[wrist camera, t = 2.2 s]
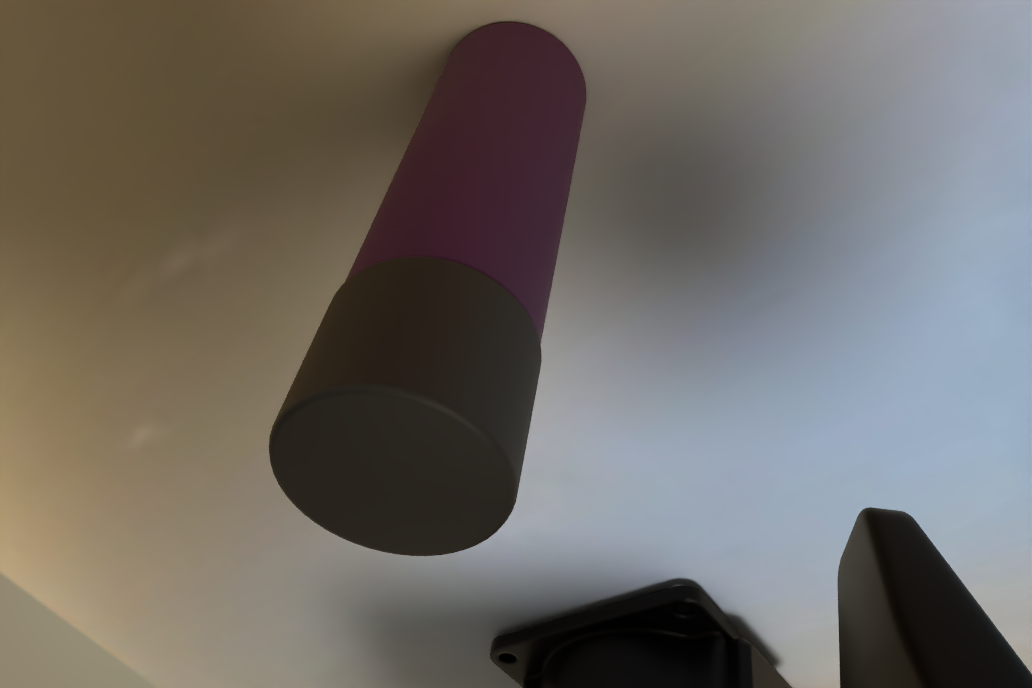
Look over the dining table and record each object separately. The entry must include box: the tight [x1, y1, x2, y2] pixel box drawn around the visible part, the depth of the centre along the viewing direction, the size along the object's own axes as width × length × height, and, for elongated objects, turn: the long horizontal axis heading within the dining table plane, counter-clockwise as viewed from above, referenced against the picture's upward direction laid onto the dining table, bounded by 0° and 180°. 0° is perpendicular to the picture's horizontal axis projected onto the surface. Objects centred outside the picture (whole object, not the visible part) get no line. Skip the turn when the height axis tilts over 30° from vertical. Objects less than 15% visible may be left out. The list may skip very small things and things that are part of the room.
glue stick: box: [269, 23, 586, 556], centre depth 12 cm, size 2×2×8 cm
